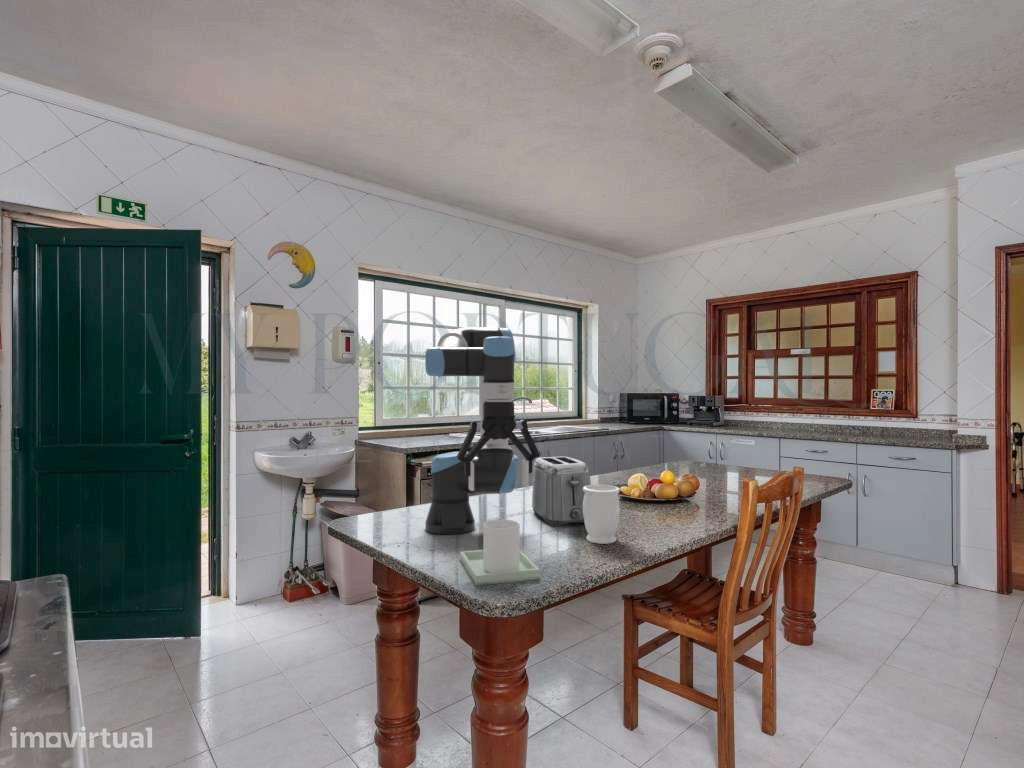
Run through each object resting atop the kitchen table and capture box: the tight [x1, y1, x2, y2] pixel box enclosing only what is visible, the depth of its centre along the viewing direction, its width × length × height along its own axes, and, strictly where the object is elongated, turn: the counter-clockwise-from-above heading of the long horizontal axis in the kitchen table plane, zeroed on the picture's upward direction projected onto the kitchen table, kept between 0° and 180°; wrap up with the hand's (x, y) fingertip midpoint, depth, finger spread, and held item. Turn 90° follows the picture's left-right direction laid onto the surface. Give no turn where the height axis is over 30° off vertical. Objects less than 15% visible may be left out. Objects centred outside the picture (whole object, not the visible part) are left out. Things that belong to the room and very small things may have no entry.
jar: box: [583, 484, 621, 545], centre depth 155 cm, size 11×10×15 cm
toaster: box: [531, 455, 592, 527], centre depth 182 cm, size 17×30×19 cm, turn 14°
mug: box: [482, 519, 521, 573], centre depth 130 cm, size 9×12×11 cm
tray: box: [459, 549, 541, 587], centre depth 130 cm, size 18×15×2 cm
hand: (498, 488), depth 132 cm, fingers open, 13 cm apart
